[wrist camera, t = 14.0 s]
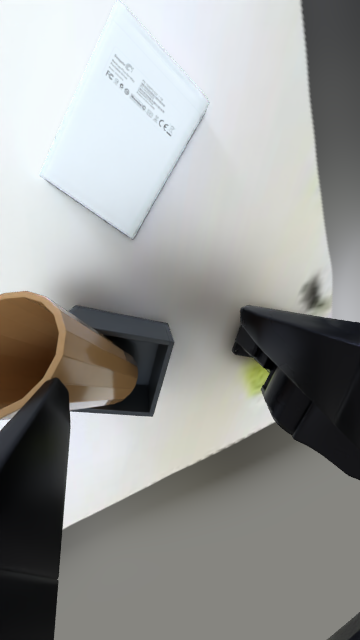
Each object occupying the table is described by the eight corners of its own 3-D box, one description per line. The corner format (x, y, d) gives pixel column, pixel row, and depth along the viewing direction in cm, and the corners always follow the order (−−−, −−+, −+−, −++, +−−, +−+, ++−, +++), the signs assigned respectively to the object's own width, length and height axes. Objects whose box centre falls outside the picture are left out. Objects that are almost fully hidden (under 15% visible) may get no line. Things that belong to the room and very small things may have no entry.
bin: (167, 323, 23) (174, 341, 18) (150, 386, 25) (152, 416, 21) (75, 305, 20) (55, 321, 15) (66, 377, 23) (47, 410, 18)
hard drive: (46, 180, 16) (118, 19, 14) (133, 240, 19) (205, 113, 17) (36, 173, 15) (116, -9, 12) (132, 239, 18) (211, 99, 15)
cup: (146, 357, 21) (87, 308, 9) (125, 412, 19) (16, 445, 7) (99, 342, 22) (-12, 279, 10) (75, 393, 20) (-99, 394, 8)
